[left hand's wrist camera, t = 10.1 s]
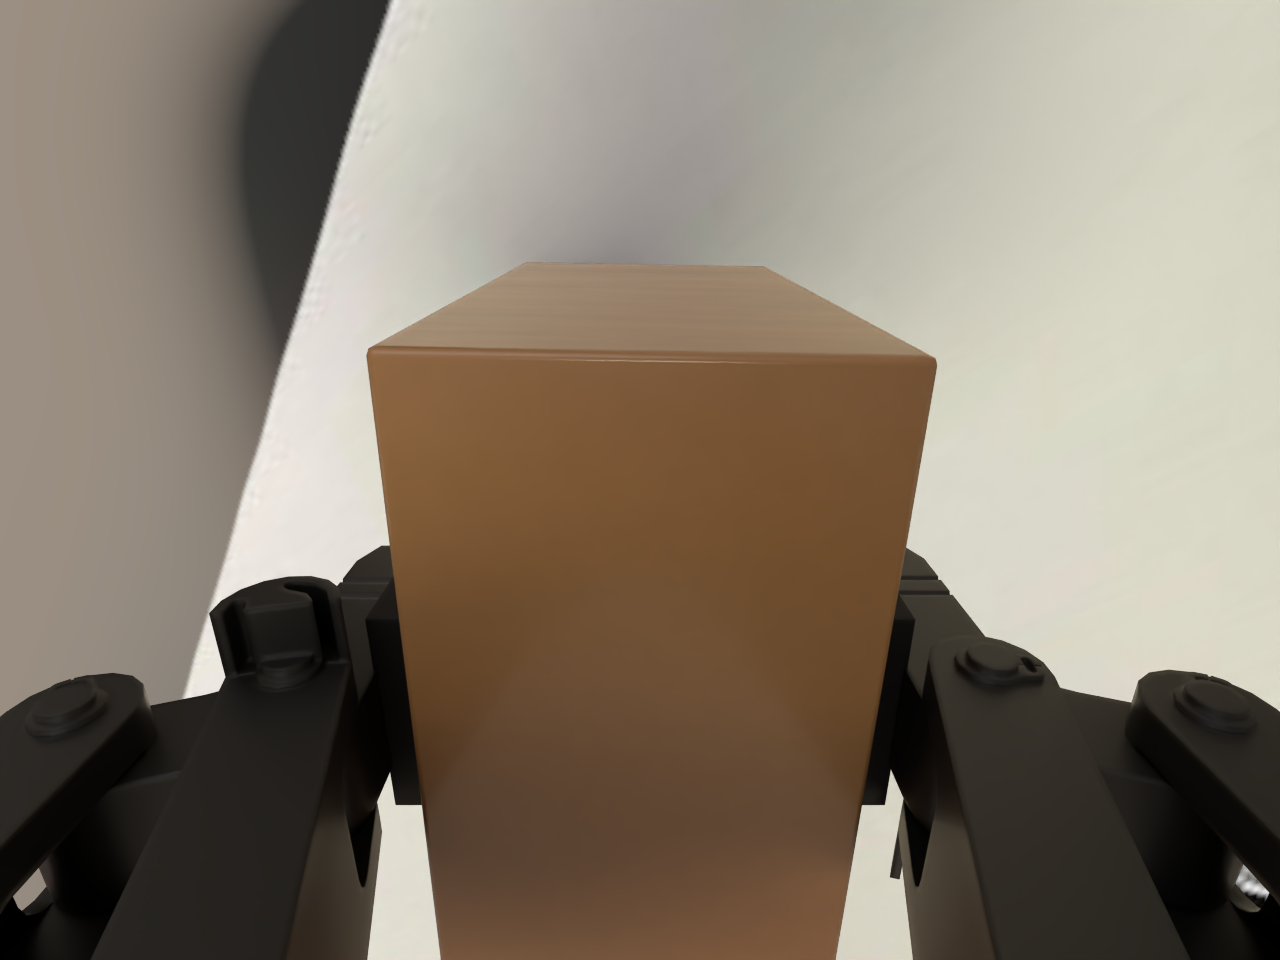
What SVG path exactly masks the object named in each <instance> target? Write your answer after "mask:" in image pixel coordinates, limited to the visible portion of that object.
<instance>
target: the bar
mask: <svg viewBox="0 0 1280 960" xmlns="http://www.w3.org/2000/svg"><path fill="white" fill-rule="evenodd" d="M366 356H367V364H368V372H369V380H370V388H371V396H372V404H373V412H374V421H375V429H376V437H377V445H378V453H379V461H380V469H381V477H382V485H383V494H384V502H385V510H386V518H387V526H388V534H389V542H390V550H391V558H392V566H393V575H394V583H395V591H396V599H397V607H398V615H399V623H400V631H401V639H402V648H403V656H404V664H405V672H406V680H407V688H408V696H409V704H410V712H411V721H412V729H413V737H414V745H415V753H416V761H417V769H418V777H419V785H420V793H421V802H422V810H423V818H424V826H425V834H426V842H427V850H428V858H429V866H430V875H431V883H432V891H433V899H434V907H435V915H436V923H437V931H438V939H439V948H440V956H441V960H835V959H836V953H837V948H838V942H839V936H840V930H841V924H842V918H843V912H844V907H845V901H846V895H847V889H848V883H849V877H850V872H851V866H852V860H853V854H854V848H855V842H856V837H857V831H858V825H859V819H860V813H861V807H862V801H863V796H864V790H865V784H866V778H867V772H868V766H869V761H870V755H871V749H872V743H873V737H874V731H875V726H876V720H877V714H878V708H879V702H880V696H881V690H882V685H883V679H884V673H885V667H886V661H887V655H888V650H889V644H890V638H891V632H892V626H893V620H894V615H895V609H896V603H897V597H898V591H899V585H900V579H901V574H902V568H903V562H904V556H905V550H906V544H907V539H908V533H909V527H910V521H911V515H912V509H913V504H914V498H915V492H916V486H917V480H918V474H919V468H920V463H921V457H922V451H923V445H924V439H925V433H926V428H927V422H928V416H929V410H930V404H931V398H932V392H933V387H934V381H935V375H936V369H937V363H936V359H935V358H934V357H932V356H930V355H928V354H927V353H925V352H923V351H921V350H919V349H917V348H915V347H914V346H912V345H910V344H908V343H906V342H904V341H902V340H900V339H899V338H897V337H895V336H893V335H891V334H889V333H887V332H885V331H884V330H882V329H880V328H878V327H876V326H874V325H872V324H870V323H869V322H867V321H865V320H863V319H861V318H859V317H857V316H855V315H854V314H852V313H850V312H848V311H846V310H844V309H842V308H841V307H839V306H837V305H835V304H833V303H831V302H829V301H827V300H826V299H824V298H822V297H820V296H818V295H816V294H814V293H812V292H811V291H809V290H807V289H805V288H803V287H801V286H799V285H797V284H796V283H794V282H792V281H790V280H788V279H786V278H784V277H782V276H781V275H779V274H777V273H775V272H773V271H771V270H769V269H768V268H766V267H759V266H703V265H648V264H592V263H536V262H526V263H524V264H522V265H520V266H518V267H517V268H515V269H513V270H511V271H509V272H507V273H506V274H504V275H502V276H500V277H498V278H496V279H495V280H493V281H491V282H489V283H487V284H485V285H484V286H482V287H480V288H478V289H476V290H475V291H473V292H471V293H469V294H467V295H465V296H464V297H462V298H460V299H458V300H456V301H454V302H453V303H451V304H449V305H447V306H445V307H443V308H442V309H440V310H438V311H436V312H434V313H432V314H431V315H429V316H427V317H425V318H423V319H422V320H420V321H418V322H416V323H414V324H412V325H411V326H409V327H407V328H405V329H403V330H401V331H400V332H398V333H396V334H394V335H392V336H390V337H389V338H387V339H385V340H383V341H381V342H379V343H378V344H376V345H374V346H372V347H370V348H369V349H368V352H367V355H366Z"/></svg>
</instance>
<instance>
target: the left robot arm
mask: <svg viewBox="0 0 1280 960" xmlns="http://www.w3.org/2000/svg"><path fill="white" fill-rule="evenodd" d="M949 592H950V591H949V590H948V589H947V587H946V586H945V585H944V583H943V582H942V581H941V580H938V576H937V575H936V573H935V572H934V571H933V569H932V568H931V567H930V566H929V564H928V563H927V562H926V560H925V559H924V558H922V557H921V556H919V555H917V554H916V553H914V552H912V551H911V550H909V549H907V548H906V550H905V556H904V562H903V568H902V574H901V579H900V585H899V591H898V597H897V603H896V609H895V615H894V620H893V626H892V632H891V638H890V644H889V650H888V655H887V661H886V667H885V673H884V679H883V685H882V690H881V696H880V702H879V708H878V714H877V720H876V726H875V731H874V737H873V743H872V749H871V755H870V761H869V766H868V772H867V778H866V784H865V790H864V796H863V801H862V805H885V801H886V795H887V789H888V783H889V777H890V771H891V770H892V773H893V775H894V777H895V780H896V782H897V784H898V786H899V789H900V791H901V793H902V796H903V798H904V799H903V804H902V810H901V816H900V821H899V827H898V833H897V838H896V844H895V849H894V855H893V861H892V867H891V873H890V877H891V878H896V879H900V874H901V869H902V868H903V877H904V886H905V894H906V903H907V911H908V920H909V929H910V937H911V946H912V954H913V960H1280V712H1279V711H1278V710H1277V709H1276V708H1274V707H1273V706H1271V705H1269V704H1268V703H1266V702H1265V701H1263V700H1262V699H1260V698H1259V697H1257V696H1256V695H1254V694H1252V693H1250V692H1248V691H1246V690H1244V689H1241V688H1239V687H1237V686H1235V685H1232V684H1231V683H1229V682H1228V681H1226V680H1223V679H1220V678H1217V677H1213V676H1211V677H1209V676H1208V675H1206V674H1201V673H1196V672H1185V671H1175V670H1164V671H1157V672H1150V673H1148V674H1147V675H1145V676H1144V677H1143V678H1141V679H1140V680H1139V681H1138V684H1137V687H1136V690H1135V693H1134V697H1133V700H1132V703H1130V702H1125V701H1120V700H1115V699H1110V698H1105V697H1099V696H1094V695H1089V694H1084V693H1079V692H1075V691H1071V690H1067V689H1063V688H1060V687H1059V685H1058V683H1057V680H1056V678H1055V676H1054V675H1053V674H1052V673H1051V671H1050V670H1049V669H1048V668H1047V666H1046V665H1045V664H1044V663H1043V662H1042V661H1041V660H1039V659H1038V658H1036V657H1035V656H1033V655H1032V654H1030V653H1029V652H1027V651H1026V650H1024V649H1022V648H1019V647H1017V646H1014V645H1012V644H1010V643H1007V642H1005V641H1002V640H997V639H993V638H988V637H985V636H984V634H983V633H982V632H981V631H980V629H979V628H978V627H977V626H976V624H975V623H974V622H973V620H972V619H971V618H970V617H969V615H968V614H967V613H966V612H965V610H964V609H963V608H962V606H961V605H960V604H959V603H958V601H957V600H956V599H955V597H954V596H953V595H950V593H949ZM209 615H210V619H211V622H212V626H213V630H214V634H215V638H216V642H217V646H218V649H219V653H220V657H221V661H222V665H223V669H224V673H225V677H226V678H225V680H224V682H223V684H222V686H221V688H220V690H219V691H218V692H214V693H211V694H207V695H202V696H197V697H192V698H187V699H182V700H177V701H172V702H167V703H162V704H157V705H151V706H150V704H149V701H148V698H147V695H146V691H145V688H144V685H143V683H141V682H140V681H139V680H137V679H136V678H135V677H133V676H130V675H124V674H117V673H108V674H99V675H86V676H82V677H77V678H74V680H71V679H69V680H66V681H63V682H60V683H57V684H55V685H53V686H52V687H50V688H48V689H46V690H43V691H41V692H39V693H37V694H34V695H32V696H30V697H28V698H27V699H26V700H24V701H22V702H21V703H19V704H18V705H16V706H15V707H13V708H12V709H10V710H9V711H7V712H6V713H4V714H3V715H2V716H1V717H0V960H367V956H368V948H369V939H370V931H371V922H372V913H373V905H374V896H375V887H376V879H377V870H378V861H379V853H380V844H381V835H382V829H381V822H380V816H379V810H378V805H377V801H378V798H379V796H380V794H381V791H382V789H383V787H384V784H385V782H386V780H387V778H388V775H389V773H391V780H392V786H393V792H394V798H395V804H396V805H422V802H421V793H420V785H419V777H418V769H417V761H416V753H415V745H414V737H413V729H412V721H411V712H410V704H409V696H408V688H407V680H406V672H405V664H404V656H403V648H402V639H401V631H400V623H399V615H398V607H397V599H396V591H395V583H394V575H393V566H392V558H391V550H390V546H380V547H379V548H377V549H376V550H374V551H372V552H371V553H369V554H367V555H366V556H364V557H363V558H361V559H359V560H358V561H356V563H355V564H354V565H353V567H352V568H351V569H350V570H349V572H348V573H347V574H346V576H345V577H344V578H343V582H340V583H339V585H338V586H336V585H335V584H333V583H332V582H331V581H329V580H326V579H322V578H317V577H313V576H294V577H284V578H279V579H273V580H268V581H263V582H261V583H258V584H255V585H252V586H249V587H247V588H244V589H241V590H239V591H237V592H236V593H234V594H232V595H230V596H229V597H227V598H225V599H223V600H222V601H221V602H220V603H219V604H218V605H217V606H216V607H215V608H214V609H213V610H212V611H211V612H210V613H209ZM1243 864H1244V865H1245V866H1246V867H1247V868H1248V870H1249V871H1250V872H1251V873H1252V874H1253V875H1254V876H1255V877H1256V878H1257V879H1258V881H1259V882H1260V883H1261V884H1262V885H1263V886H1264V887H1265V888H1266V889H1267V890H1268V892H1269V895H1268V897H1267V900H1266V902H1265V904H1264V905H1263V907H1262V908H1261V909H1260V908H1258V907H1257V906H1256V905H1255V904H1254V903H1253V902H1252V901H1250V900H1249V899H1248V898H1247V897H1246V896H1245V894H1244V893H1243V892H1242V891H1241V890H1240V889H1239V888H1238V886H1237V885H1236V884H1235V883H1236V880H1237V878H1238V876H1239V873H1240V871H1241V869H1242V866H1243ZM38 868H39V869H40V871H41V874H42V876H43V879H44V881H45V883H46V886H47V887H46V888H45V889H44V890H43V891H42V892H41V894H40V895H39V896H38V897H37V898H36V899H35V901H33V902H32V903H31V904H30V905H29V906H27V907H26V908H25V909H24V910H22V911H21V910H20V909H19V908H18V907H17V905H16V902H15V900H14V898H13V896H14V894H15V893H16V892H17V891H18V890H19V889H20V888H21V887H22V886H23V885H24V883H25V882H26V881H27V880H28V879H29V878H30V877H31V876H32V875H33V873H34V872H35V871H36V870H37V869H38Z"/></svg>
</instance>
